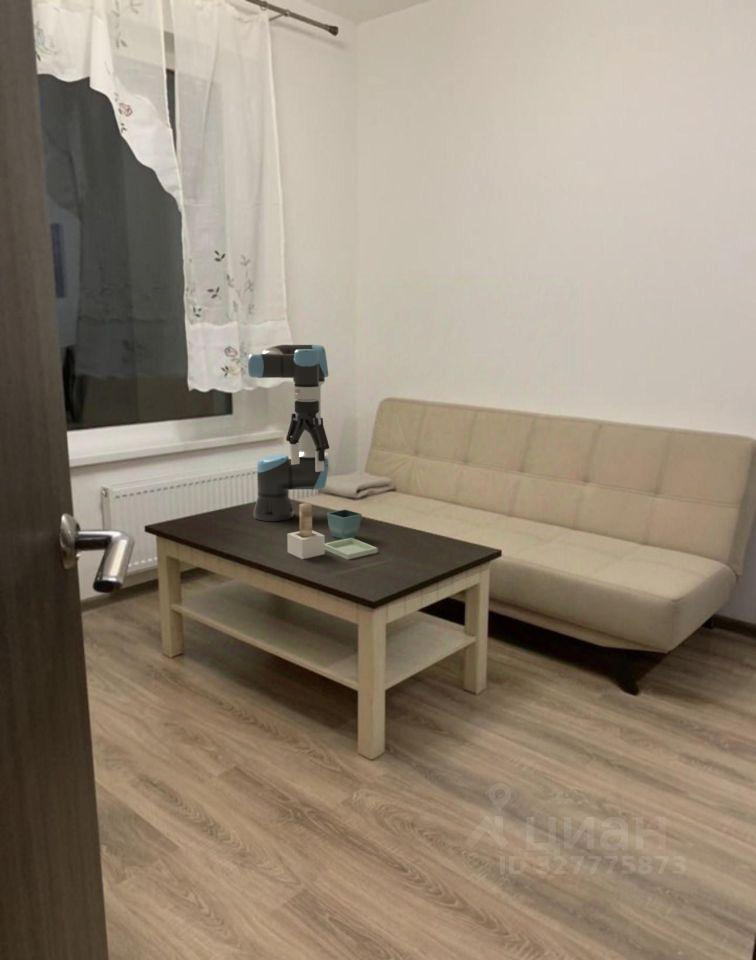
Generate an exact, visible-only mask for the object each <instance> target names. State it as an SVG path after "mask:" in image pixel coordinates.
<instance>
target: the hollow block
mask: <svg viewBox="0 0 756 960" xmlns="http://www.w3.org/2000/svg"><path fill="white" fill-rule="evenodd" d="M286 535H287V536H286V537H287V539H286V541H287V542H286V543H287V553H288V554H291V555H293V556H295V557H297V558H299V559H301V560H304V559H305V560H306V559H309V558H313V557H318V556H322V555H325V554H326V550H325V543H326V540H325V537H326V535H324V534H322V533H320V532H317V531H315V530H313V529H312V536H311V537H306V538H302V537H300V530H299V531H294V532H290V533H287V534H286Z"/></svg>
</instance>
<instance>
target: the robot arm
mask: <svg viewBox="0 0 756 960" xmlns="http://www.w3.org/2000/svg"><path fill="white" fill-rule="evenodd" d="M247 360H248V362H247V367H248V376H249V377H250V378H254V379H255V378H256V379H265V378H267V379H270V378H273V379H274V378H275V379H277V378H280V379H282V378H283V379H293V381H292V382H293V383H294V399H295V401H294V412H295V413H291V418H290V419H291V420H290V424H289V426H288V427H289V428H288V430H287V435H286V438H285V439H286V442H288V443H289V444H290V458H289V455H288V454H272V455H267V456H264V457H262V458H260V459H258V461H257V470H256V473H257V499H256V502H255V505H254V508H253V518H254V519H255V520H259V521H263V522H264V521H265V522H278V521H279V522H281V521H287V520H291V519H292V518H293V517H294V508H293V505H292V502H291V499H290V496H289V495H290V494H289V493H290V492H289V491H291V490H292V491H293V490H295V491H297V490H311V491H314V490H323V489H324V488H325V487H326V484H327V478H328V471H329V459H328V458H326V455H325V452H326V450H329V449H330V444H329V442H328V437H327V434H326V431H325V430H326V429H325V427H324V419H323V417H321V416H322V415H321V413H322V411H321V409H322V408H321V407H322V406H321V404H322V403H321V402H322V401H321V398H322V397H321V396H322V395H321V391H322V390H321V388H322V385H323V384H324V383H325V382H326V381H325V379H326V378H328V377H329V370H328V369H329V368H328V361H327V354H326V349H325V347H324V346H323V345H319V344H279V345H275V346H271V347H270V346H269V347H267V348H265V349H264V350H262V351H261V352H260V353H251V354H248V359H247Z"/></svg>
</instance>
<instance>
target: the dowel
mask: <svg viewBox="0 0 756 960" xmlns="http://www.w3.org/2000/svg"><path fill="white" fill-rule="evenodd" d="M298 507H299V509H298V510H299V531H300V537H302V538H306V537H311V536H312V530H313V504H312V503H309V502H306V503H300V504H299V506H298Z"/></svg>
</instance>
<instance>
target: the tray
mask: <svg viewBox="0 0 756 960" xmlns="http://www.w3.org/2000/svg"><path fill="white" fill-rule="evenodd" d="M325 551H326V552H329V553H332V554H334V555H335V556H338V557H341V558H344V559H346V560H351V559H356V558H360V557H363V556H368V555H372V554H373V555H374V554H377V553H378V547H376V546H373V545H371V544H369V543H366V542H363V541H361V540H359V539H356V538H355V537H354V538H348V539H339V540H333V541H330V542H325Z"/></svg>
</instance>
